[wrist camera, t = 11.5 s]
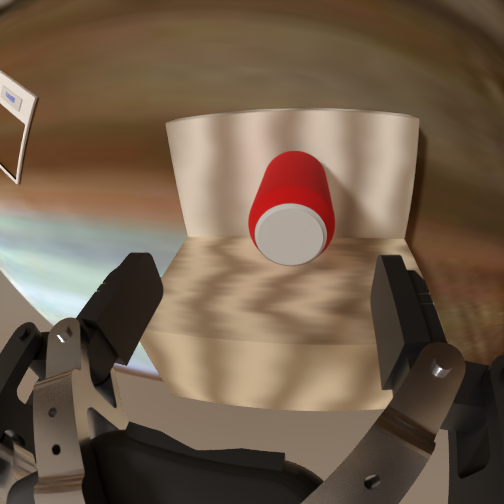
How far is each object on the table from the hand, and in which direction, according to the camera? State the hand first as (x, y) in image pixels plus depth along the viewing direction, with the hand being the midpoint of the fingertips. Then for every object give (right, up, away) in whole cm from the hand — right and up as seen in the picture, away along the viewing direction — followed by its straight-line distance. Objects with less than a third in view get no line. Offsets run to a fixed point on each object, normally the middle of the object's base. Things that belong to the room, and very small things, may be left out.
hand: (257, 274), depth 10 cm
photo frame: (-44, +23, +22) cm, 54 cm away
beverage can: (+4, +9, +19) cm, 21 cm away
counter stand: (+5, +6, +24) cm, 25 cm away
